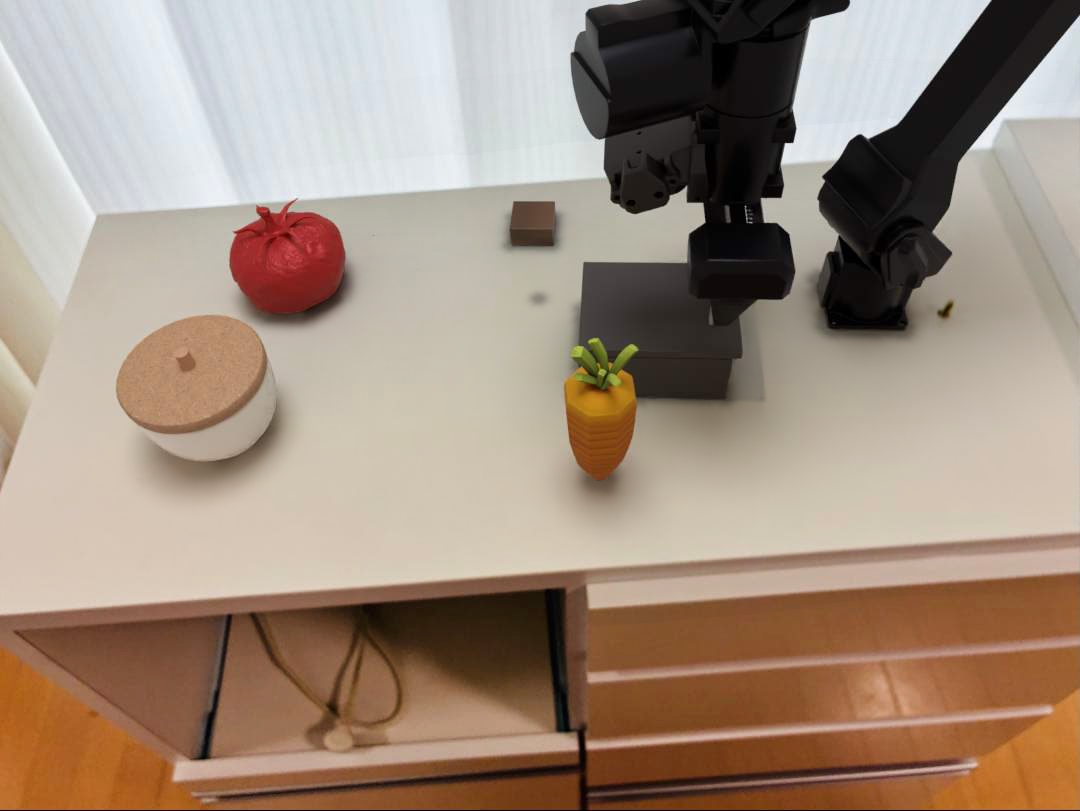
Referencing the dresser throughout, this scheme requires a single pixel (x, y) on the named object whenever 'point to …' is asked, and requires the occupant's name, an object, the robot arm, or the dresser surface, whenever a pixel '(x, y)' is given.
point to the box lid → (651, 313)
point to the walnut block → (533, 223)
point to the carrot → (600, 409)
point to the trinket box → (199, 387)
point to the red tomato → (287, 260)
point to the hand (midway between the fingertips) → (717, 279)
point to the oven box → (678, 376)
